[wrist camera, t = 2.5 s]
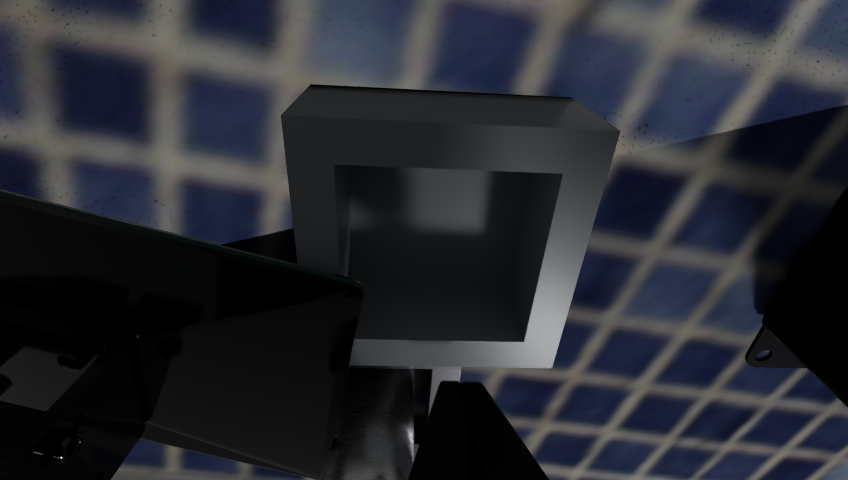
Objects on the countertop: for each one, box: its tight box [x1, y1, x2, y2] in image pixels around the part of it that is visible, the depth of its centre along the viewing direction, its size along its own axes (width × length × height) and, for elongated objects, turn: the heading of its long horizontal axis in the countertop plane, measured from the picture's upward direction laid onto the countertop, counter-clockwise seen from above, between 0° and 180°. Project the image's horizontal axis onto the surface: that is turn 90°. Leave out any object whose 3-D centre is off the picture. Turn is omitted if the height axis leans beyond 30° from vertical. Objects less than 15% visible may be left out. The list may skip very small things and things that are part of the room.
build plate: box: [0, 189, 365, 480], centre depth 8 cm, size 12×7×5 cm, turn 76°
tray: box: [281, 84, 620, 368], centre depth 10 cm, size 6×6×2 cm
